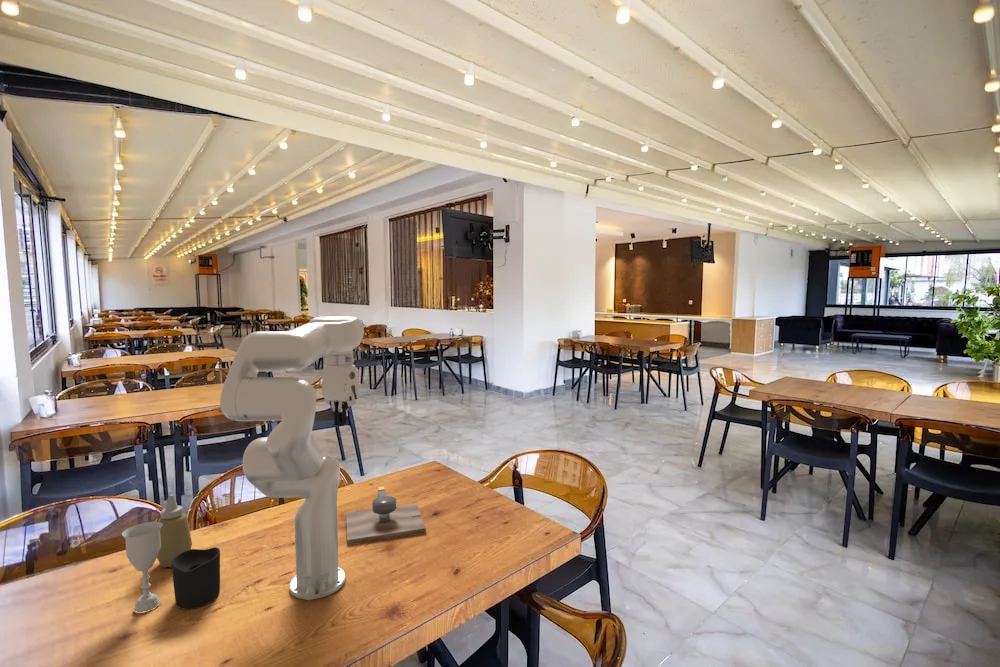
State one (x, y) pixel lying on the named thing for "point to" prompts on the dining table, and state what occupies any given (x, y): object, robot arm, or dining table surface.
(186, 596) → the pen holder
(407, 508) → the board
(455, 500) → the dining table surface
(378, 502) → the grey knob lever
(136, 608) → the chalice
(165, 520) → the squeeze bottle
